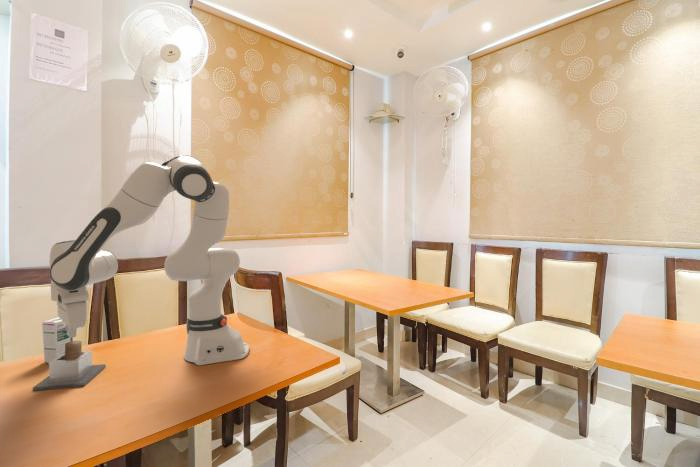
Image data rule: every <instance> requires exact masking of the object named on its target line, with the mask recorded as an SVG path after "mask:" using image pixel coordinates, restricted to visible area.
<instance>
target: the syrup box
mask: <svg viewBox="0 0 700 467" xmlns="http://www.w3.org/2000/svg"><path fill="white" fill-rule="evenodd" d="M41 325H42V341H43V343H42V344H43V356H44V357H43V360H44V363H46V362H47V363H48V364H49V362H50V361H52V360H53V359H55V358H56V357H58V356H59V355H61V354H63V353H64V352H65V344H66V343H68V342H72V341H74V339H73V338H74V337H73V338H69V336H68V335H67V329H66V325H65V323H64V322H63V321H62V320H61V319H60V318H59V317H56V318H51V319H49V320H45V321H42V323H41Z"/></svg>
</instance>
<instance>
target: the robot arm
mask: <svg viewBox="0 0 700 467" xmlns="http://www.w3.org/2000/svg"><path fill="white" fill-rule="evenodd" d="M174 191H176V193H178V194H179V195H180V196H182V197H183V198H185V199H188V200H191V201H194V207H193V214H192V220H191V226H190V230H189V233H188V236H187V237H186V239H185V240H184V242H183V243H182V244H181V245H180V246H178V247H177V249H175V250H174V251H171V252H169V254H168V255H167V257H166V258H165V260H164V262H163V263H164V264H163V265H164V266H163V268H164V272H165V274H166V276H167V277H168V278H169V279H170V280H172V281H178V282H190V281H198V280H200V281H201V280H203V281H202V284H201V285H200V286H199V287H198V288H196V289H194V290H193V291H192V292H191V293H190V294H189V295H188V296H189V297H188V298H187V318H186V333H187V342H186V348H185V352H184V355H183V359H184V360H185V361H187V362H191V363H193V364H195V365H196V366H204V365H210V364H215V363H217V364H218V363H223V362H224V363H225V362H230V361H238V360H241V359H242V360H243V359H244V358H245V357H247V356H248V354H249V352H250V345H249V343H247V342H244V341H243V340H244V339H243V336H242V334H241V331H239V330H237V329H235V328H233V327H232V326H230V325H229V324H228V317H227V314H225V315H224V314H222V297H223V292H224V289H225V286H226V284H227V282H228V281H229V280H230V278H232V276H233V275H234V274H236V272H238V270H239V268H240V264H241V262H240V261H241V258H240V256H239V254H238V252H237V251H236V250H235V249H233V248H228V247H213V246H214V245H216V244H217V243H219V242H221V241H222V240H223V239H224V237H225V236H226V233H227V232H226V230H227V226H228V225H227V224H228V218H229V213H230V212H229V209H230V194H229V192H230V191H229V190H228V188H227V187H226V186H225V185H224V184H222V183H220V182H215V181H213V180H212V177H211V174H209V172H208V171H207V169H206V167H205V166H204V165H203V164H202V163H201V162H200V160H198V159H197V158H195V157H194V156H191V155H189V154H188V155H187V154H180V155H177V156H175V157H173V158H171V159H169V160H167V161H165V162H163V163H162V164H161V165H160V164H158V163H155V162H143V163H141V164H140V165H139V166H138V167H137V168H136V169H134V170H133V172H132V173H131V174H130V175H129V176H128V178H127V179H126V181H125V182H124V183H123V185H122V186H121V188H120V189H119V190H118V192H117V193H116V195H115V196H114V197H113V198H112V200H110V202H109V203H108V204H107V205H106V206H105V207H104V208H103V209H101V211H99V212H98V213H97V214H96V215H95V216H94V217H93V218H92V219H91V221H90V222H89V223H88V224H87V226H85V227H84V230H83V231H82V232H80V234H79V236H78V237H77V238H76V239H74V240H73V239H72V240H67V241H66V240H65V241H60V242H56V243H54V244H53V245H52V246H51V249H50V253H49V276H50V278H51V282H50V300H51V301H52V302H56V305H57V315H58V317H59V318H60V319H61V320H62V321H63V322H64V323H65V325H66V329H67V335H68V336H69V338H75V337H77V330H78V329H80V328H83V327H85V326H86V323H87V315H88V313H87V312H88V302H87V301H89V300H90V294H89V290H88V289H89V288H88V285H93V284H94V285H95V284H98V283H100V282H104V281H107V280H110V279H111V278H114V277H115V276H116V275H117V273H118V271H119V266H120V265H119V261H118V258H117V256H116V255H115V254H114V253H112V252H111V251H109V250H108V251H107V250H103V248H104V247H105V245H106V244H107V242H108V241H109V240H110V239H111V238H113V237H114V236H116V235H117V234H118V233H120V232H123V231H125V230H129V229H130V228H134V227H137V226H140V225H141V226H142V225H143V224H145V223H147V221H149V220H150V219H151V218H152V217H153V216H154V215H155V214H156V212H157V211H158V209H159V207H160V206H161V204H162V202H163V201H164V200H165V198H166V197H167V195H169V194H171V193H172V192H174ZM58 317H57V318H58Z"/></svg>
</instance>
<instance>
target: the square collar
mask: <svg viewBox="0 0 700 467" xmlns="http://www.w3.org/2000/svg"><path fill="white" fill-rule="evenodd" d="M92 354H93V353H92V350H82V352H81V356H79V357H78V358H77V359H68V360H65V352H64V353H63V354H61V355H59V356H58V357H56V358H55V359H53V360H52V361H50V362H49V363H48V368H49V369H48V371H49V373H48V374H49V375H48V376H46V377H45V378H44V379H42V380H41V381H39V382H38V383H37V384H35V385H34V386H33V387H32V392H33V391H34V392H36V391H45V390H58V389H67V388H69V389H70V388H78V387H79V388H80V387H86V386H87V384H89V383H90V382H91V381H92V380H94V379H95V377H97V376H98V375H99V374H100V373H101V372H102V371H104V369H105V368H106V363H104V364H93V359H92V358H93V357H92V356H93V355H92Z"/></svg>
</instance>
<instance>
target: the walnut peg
mask: <svg viewBox="0 0 700 467" xmlns="http://www.w3.org/2000/svg"><path fill="white" fill-rule="evenodd" d="M82 345H83V344H82V340H73V341H72V342H68V343H66V344H65V360H68V359H77V358H78V357H79V356H81V352H82V351H83V350H82Z"/></svg>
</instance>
